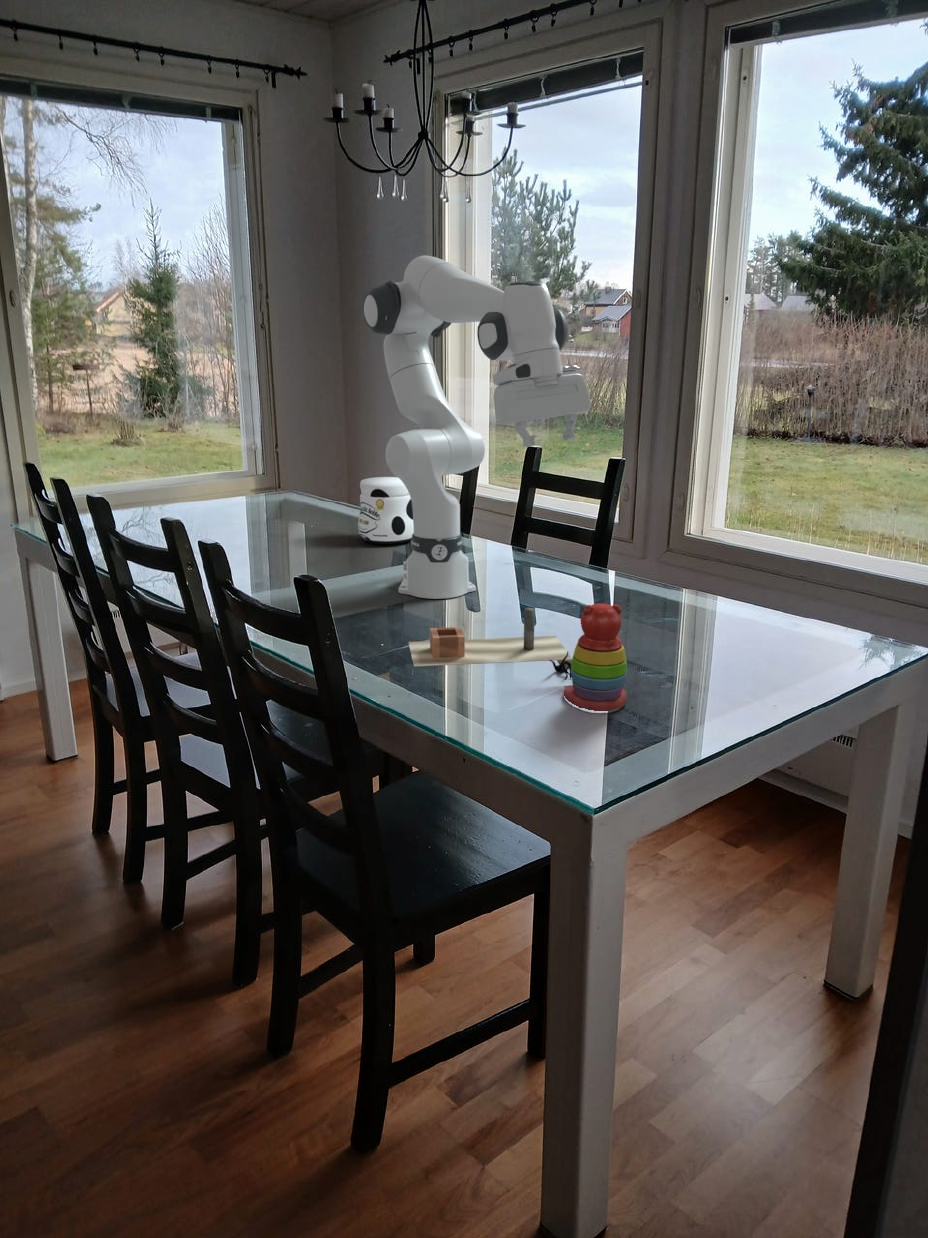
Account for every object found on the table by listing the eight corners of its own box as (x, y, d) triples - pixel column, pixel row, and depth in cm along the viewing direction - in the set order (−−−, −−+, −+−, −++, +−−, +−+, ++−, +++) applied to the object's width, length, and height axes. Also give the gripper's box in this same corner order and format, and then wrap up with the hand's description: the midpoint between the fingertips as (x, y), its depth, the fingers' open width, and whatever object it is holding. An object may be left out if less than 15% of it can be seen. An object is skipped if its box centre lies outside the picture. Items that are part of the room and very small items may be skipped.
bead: (430, 647, 184) (430, 628, 183) (460, 646, 185) (460, 627, 184) (433, 658, 178) (433, 638, 177) (464, 656, 179) (464, 636, 178)
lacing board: (408, 649, 188) (407, 603, 185) (555, 642, 192) (557, 598, 189) (413, 673, 175) (413, 625, 172) (571, 666, 178) (573, 618, 175)
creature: (600, 687, 172) (565, 669, 176) (607, 661, 169) (571, 643, 173) (576, 700, 166) (540, 680, 170) (583, 673, 163) (547, 654, 168)
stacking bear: (622, 691, 166) (627, 595, 161) (634, 714, 157) (640, 612, 151) (561, 692, 166) (564, 595, 161) (569, 715, 156) (573, 613, 151)
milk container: (349, 545, 275) (347, 484, 270) (371, 533, 291) (370, 475, 286) (404, 549, 270) (403, 487, 265) (424, 536, 286) (424, 477, 281)
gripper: (571, 366, 184) (582, 437, 186) (484, 377, 174) (496, 451, 176) (592, 360, 179) (602, 434, 181) (503, 371, 169) (515, 448, 171)
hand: (549, 442), depth 179 cm, fingers open, 8 cm apart
